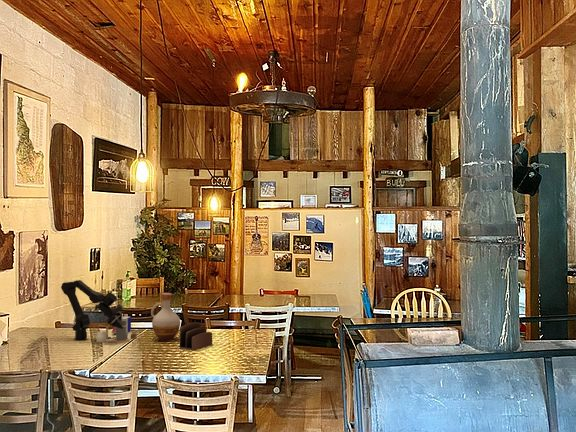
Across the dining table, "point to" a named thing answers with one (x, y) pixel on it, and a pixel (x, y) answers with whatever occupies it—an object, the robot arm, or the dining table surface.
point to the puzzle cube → (128, 324)
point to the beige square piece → (101, 336)
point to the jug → (165, 320)
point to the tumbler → (122, 330)
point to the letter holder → (194, 336)
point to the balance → (107, 331)
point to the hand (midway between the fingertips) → (124, 327)
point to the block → (133, 335)
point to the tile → (122, 341)
